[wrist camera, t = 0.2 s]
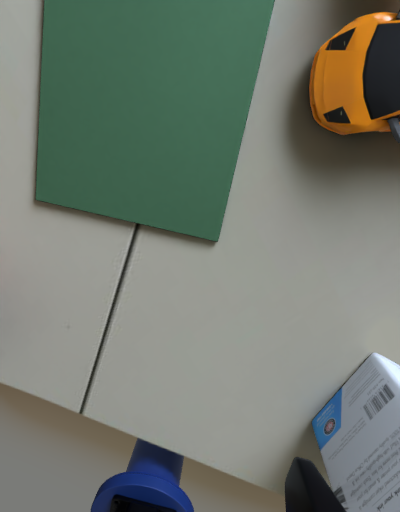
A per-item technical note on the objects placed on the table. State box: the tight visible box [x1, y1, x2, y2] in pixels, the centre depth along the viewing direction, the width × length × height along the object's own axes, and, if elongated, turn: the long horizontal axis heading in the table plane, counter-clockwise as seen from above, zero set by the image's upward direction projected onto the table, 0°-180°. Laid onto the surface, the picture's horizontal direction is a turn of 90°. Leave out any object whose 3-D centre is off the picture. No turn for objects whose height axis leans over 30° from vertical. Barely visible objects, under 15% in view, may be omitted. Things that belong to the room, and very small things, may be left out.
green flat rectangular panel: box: [36, 0, 275, 242], centre depth 20 cm, size 18×14×1 cm
